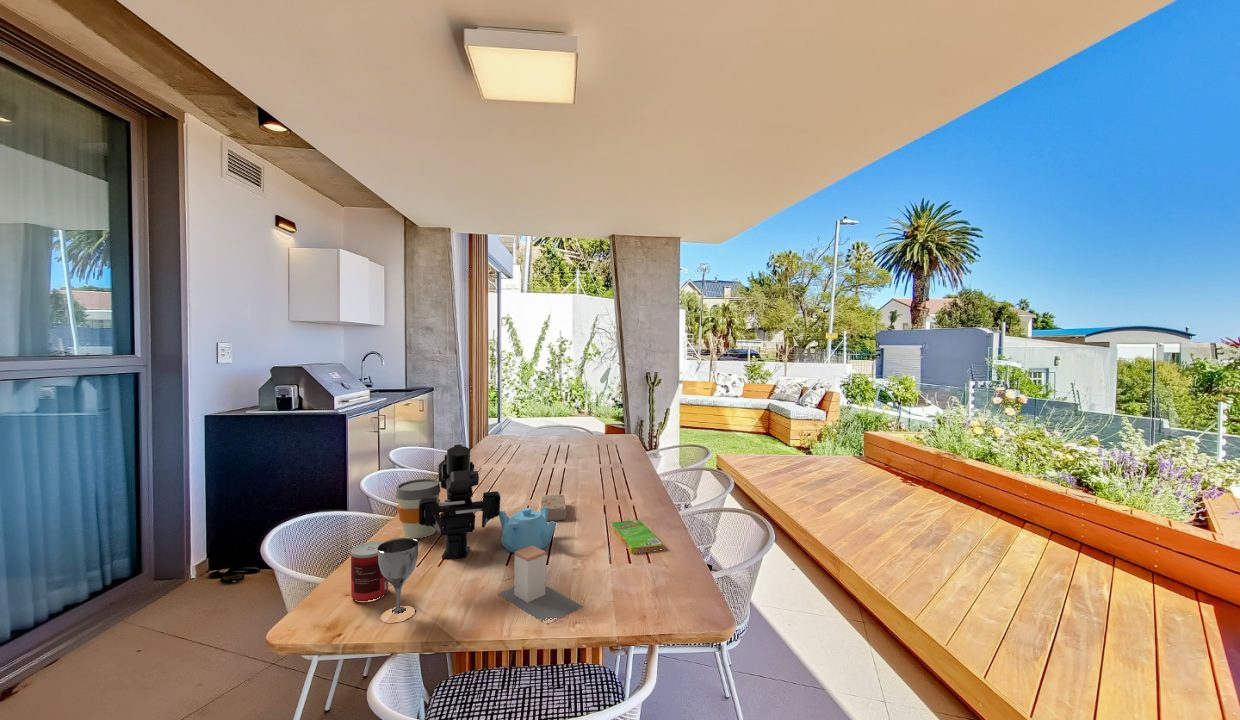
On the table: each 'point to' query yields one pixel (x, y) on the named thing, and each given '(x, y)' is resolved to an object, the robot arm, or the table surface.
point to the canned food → (366, 573)
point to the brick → (554, 506)
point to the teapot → (526, 529)
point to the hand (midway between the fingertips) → (462, 528)
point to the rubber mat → (544, 604)
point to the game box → (636, 536)
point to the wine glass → (397, 563)
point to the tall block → (529, 573)
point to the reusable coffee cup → (415, 505)
